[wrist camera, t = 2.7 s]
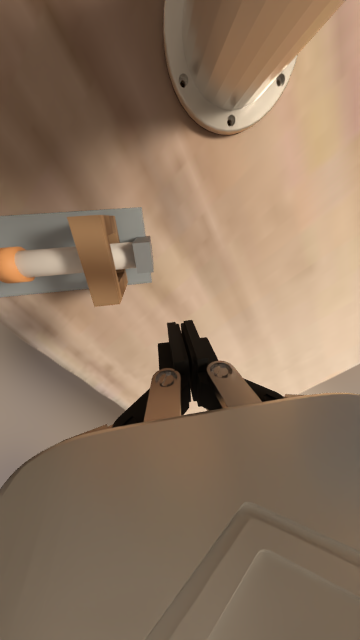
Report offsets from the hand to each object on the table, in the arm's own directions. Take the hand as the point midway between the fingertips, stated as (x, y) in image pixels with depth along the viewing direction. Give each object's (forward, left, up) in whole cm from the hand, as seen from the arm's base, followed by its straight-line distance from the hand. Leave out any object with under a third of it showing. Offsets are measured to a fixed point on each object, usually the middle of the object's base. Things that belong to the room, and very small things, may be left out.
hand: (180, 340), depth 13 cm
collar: (-4, -6, -14) cm, 16 cm away
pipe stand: (-4, -12, -16) cm, 21 cm away
